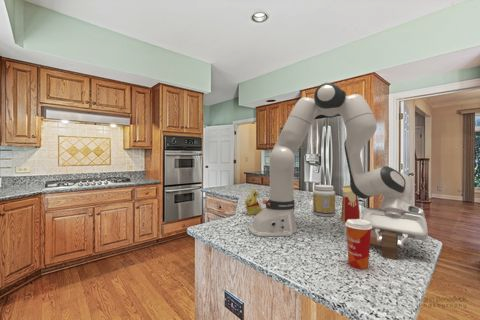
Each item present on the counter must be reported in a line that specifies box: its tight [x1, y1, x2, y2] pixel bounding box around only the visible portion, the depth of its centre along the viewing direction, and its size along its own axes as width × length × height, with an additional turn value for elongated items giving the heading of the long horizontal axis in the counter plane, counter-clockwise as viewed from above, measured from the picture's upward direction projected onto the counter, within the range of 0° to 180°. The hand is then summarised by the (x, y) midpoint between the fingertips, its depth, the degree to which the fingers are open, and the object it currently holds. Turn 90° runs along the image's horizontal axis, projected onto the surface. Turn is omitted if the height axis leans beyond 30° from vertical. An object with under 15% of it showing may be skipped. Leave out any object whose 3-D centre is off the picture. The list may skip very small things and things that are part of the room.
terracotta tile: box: [370, 231, 382, 247], centre depth 96 cm, size 10×10×3 cm
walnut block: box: [381, 231, 399, 261], centre depth 82 cm, size 4×4×8 cm
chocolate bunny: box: [244, 188, 263, 216], centre depth 138 cm, size 7×11×15 cm, turn 112°
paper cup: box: [344, 218, 372, 270], centre depth 75 cm, size 8×8×14 cm
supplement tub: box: [312, 184, 336, 218], centre depth 138 cm, size 12×12×17 cm
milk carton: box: [340, 184, 361, 224], centre depth 124 cm, size 9×9×20 cm
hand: (389, 244), depth 81 cm, fingers open, 5 cm apart
